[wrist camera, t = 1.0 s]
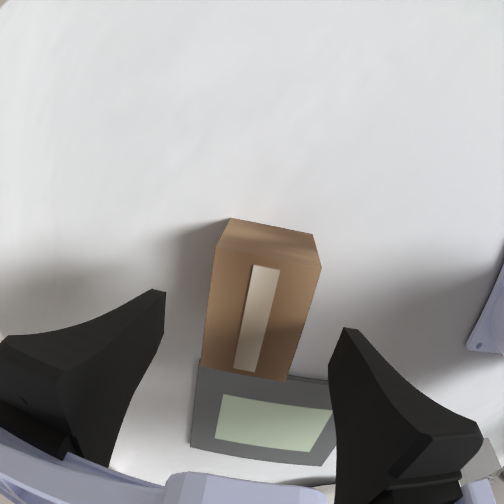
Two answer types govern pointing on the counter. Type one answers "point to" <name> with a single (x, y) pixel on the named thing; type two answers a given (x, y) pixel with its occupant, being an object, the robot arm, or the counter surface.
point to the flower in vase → (327, 492)
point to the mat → (263, 417)
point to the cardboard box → (258, 299)
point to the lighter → (482, 466)
